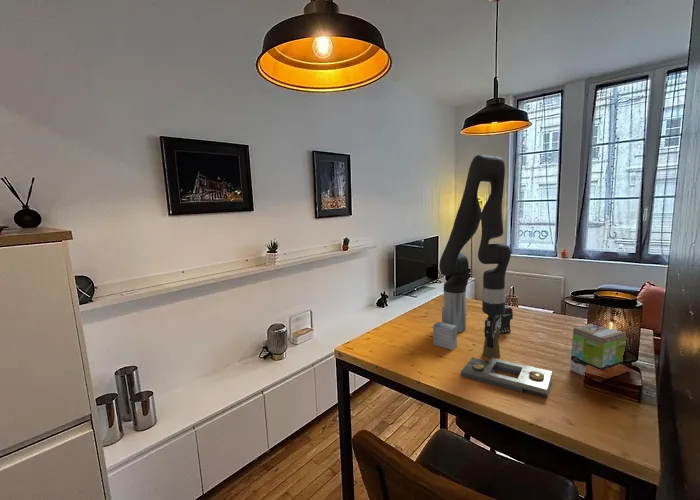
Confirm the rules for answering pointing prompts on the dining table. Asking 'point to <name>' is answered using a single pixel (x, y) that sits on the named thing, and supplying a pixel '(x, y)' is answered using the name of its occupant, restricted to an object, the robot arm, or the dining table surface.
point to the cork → (495, 350)
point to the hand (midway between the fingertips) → (493, 342)
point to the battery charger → (506, 320)
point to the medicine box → (445, 335)
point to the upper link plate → (521, 377)
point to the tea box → (596, 347)
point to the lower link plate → (477, 368)
